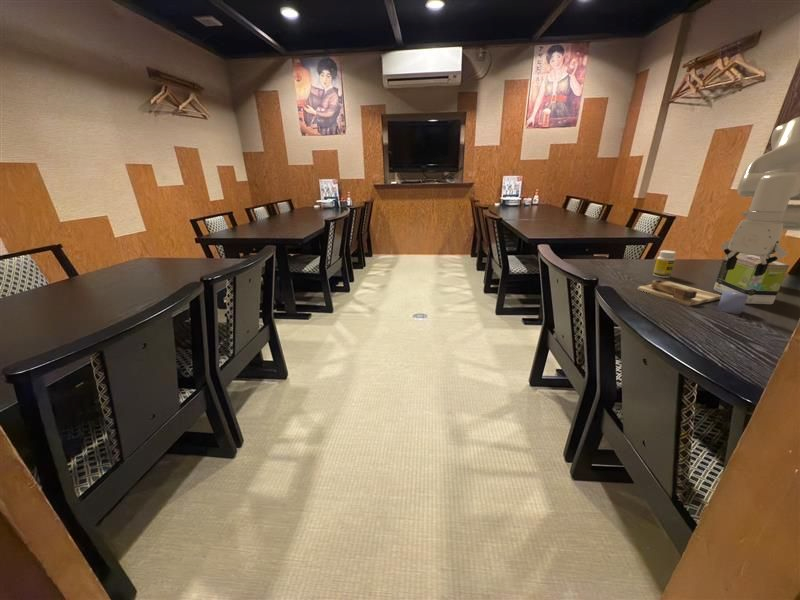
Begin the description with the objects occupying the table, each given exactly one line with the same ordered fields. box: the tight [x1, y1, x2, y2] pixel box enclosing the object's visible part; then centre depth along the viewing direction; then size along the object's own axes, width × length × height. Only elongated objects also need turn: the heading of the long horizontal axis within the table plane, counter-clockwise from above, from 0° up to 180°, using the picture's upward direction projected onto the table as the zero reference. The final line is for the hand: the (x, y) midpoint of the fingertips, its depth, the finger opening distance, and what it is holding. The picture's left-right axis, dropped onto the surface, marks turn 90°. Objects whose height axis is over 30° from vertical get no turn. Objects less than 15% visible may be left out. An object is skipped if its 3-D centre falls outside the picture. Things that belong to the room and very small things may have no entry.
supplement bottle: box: [652, 249, 677, 279], centre depth 144 cm, size 6×6×11 cm
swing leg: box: [650, 278, 697, 299], centre depth 122 cm, size 15×4×3 cm, turn 15°
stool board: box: [636, 280, 722, 307], centre depth 124 cm, size 18×19×5 cm
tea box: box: [713, 254, 790, 305], centre depth 118 cm, size 15×10×15 cm
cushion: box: [717, 291, 748, 315], centre depth 109 cm, size 6×6×6 cm
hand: (743, 271), depth 105 cm, fingers open, 6 cm apart
